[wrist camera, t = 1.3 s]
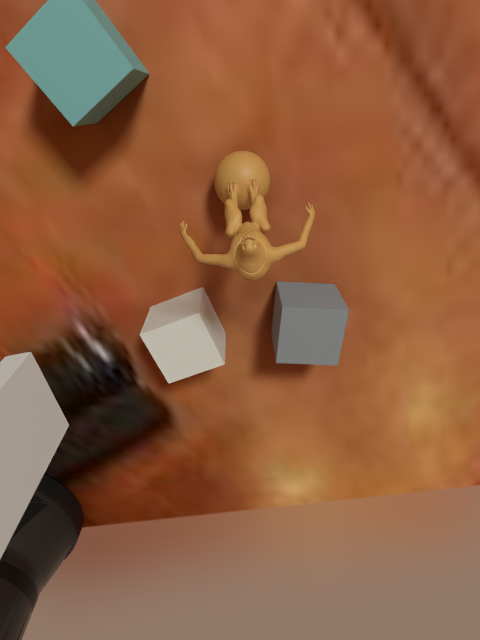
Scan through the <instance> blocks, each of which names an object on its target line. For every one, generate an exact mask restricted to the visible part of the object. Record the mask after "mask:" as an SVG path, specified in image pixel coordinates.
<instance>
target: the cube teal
mask: <svg viewBox="0 0 480 640" xmlns="http://www.w3.org/2000/svg"><path fill="white" fill-rule="evenodd" d="M5 48H6V49H7V50H8V51H9V52H10V53H11V55H12V56H13V57H14V58H15V59H16V61H17V62H18V63H19V64H20V65H21V66H22V68H23V69H24V70H25V71H26V72H27V73H28V75H29V76H30V77H31V78H32V79H33V80H34V82H35V83H36V84H37V85H38V86H39V87H40V89H41V90H42V91H43V92H44V93H45V94H46V96H47V97H48V98H49V99H50V100H51V101H52V103H53V104H54V105H55V106H56V107H57V108H58V110H59V111H60V112H61V113H62V114H63V116H64V117H65V118H66V119H67V120H68V121H69V123H70V124H71V125H72V126H73V127H74V126H81V125H88V124H95V123H98V122H99V121H100V120H101V119H102V118H103V117H104V116H105V115H106V114H107V113H108V112H110V111H111V110H112V109H113V108H114V107H115V106H116V105H117V104H118V103H119V102H120V101H121V100H122V99H123V98H124V97H125V96H126V95H128V94H129V93H130V92H131V91H132V90H133V89H134V88H135V87H136V86H137V85H138V84H139V83H140V82H141V81H142V80H143V79H145V78H146V77H147V76H148V75H149V73H148V71H147V70H146V69H145V67H144V66H143V64H142V63H141V62H140V60H139V59H138V58H137V56H136V55H135V54H134V52H133V51H132V49H131V48H130V47H129V45H128V44H127V43H126V41H125V40H124V39H123V37H122V36H121V34H120V33H119V32H118V30H117V29H116V28H115V26H114V25H113V24H112V22H111V21H110V20H109V18H108V17H107V15H106V14H105V13H104V11H103V10H102V9H101V7H100V6H99V5H98V3H97V2H96V0H48V1H47V2H46V3H45V4H44V5H43V6H42V7H41V9H40V10H39V11H38V12H37V13H36V14H35V15H34V16H33V17H32V19H31V20H30V21H29V22H28V23H27V24H26V25H25V26H24V27H23V29H22V30H21V31H20V32H19V33H18V34H17V35H16V36H15V37H14V39H13V40H12V41H11V42H10V43H9V44H8V45H7V46H6V47H5Z"/></svg>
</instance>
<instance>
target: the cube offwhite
mask: <svg viewBox="0 0 480 640" xmlns="http://www.w3.org/2000/svg"><path fill="white" fill-rule="evenodd" d="M140 337H141V338H142V340H143V342H144V343H145V345H146V347H147V348H148V350H149V352H150V353H151V355H152V357H153V358H154V360H155V362H156V363H157V365H158V367H159V368H160V370H161V372H162V373H163V375H164V377H165V378H166V380H167V382H168V384H169V383H172V382H175V381H178V380H181V379H184V378H187V377H190V376H193V375H195V374H198V373H201V372H204V371H207V370H210V369H213V368H216V367H219V366H222V365H224V364H225V344H226V333H225V331H224V329H223V327H222V325H221V323H220V321H219V319H218V317H217V315H216V312H215V310H214V308H213V306H212V304H211V302H210V300H209V298H208V296H207V294H206V292H205V290H204V288H203V287H201V288H199V289H196V290H193V291H191V292H188V293H185V294H183V295H180V296H178V297H175V298H172V299H170V300H167V301H164V302H162V303H159V304H157V305H154V306H151V307H150V310H149V312H148V315H147V317H146V320H145V322H144V325H143V327H142V330H141V332H140Z"/></svg>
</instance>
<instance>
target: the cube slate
mask: <svg viewBox="0 0 480 640" xmlns="http://www.w3.org/2000/svg"><path fill="white" fill-rule="evenodd" d="M348 312H349V309H348V307H347V306H346V304H345V302H344V300H343V298H342V297H341V295H340V293H339V291H338V289H337V287H336V286H335V284H319V283H298V282H276V291H275V300H274V310H273V319H272V329H271V335H272V341H273V347H274V354H275V360H276V363H289V364H314V365H338V362H339V357H340V352H341V347H342V342H343V337H344V332H345V327H346V322H347V317H348Z"/></svg>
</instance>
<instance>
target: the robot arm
mask: <svg viewBox="0 0 480 640" xmlns="http://www.w3.org/2000/svg"><path fill="white" fill-rule="evenodd" d="M68 426H69V424H68V422H67V420H66V418H65V416H64V415H63V413H62V411H61V409H60V407H59V405H58V403H57V401H56V399H55V397H54V395H53V393H52V391H51V390H50V388H49V386H48V384H47V382H46V380H45V378H44V376H43V374H42V372H41V370H40V368H39V366H38V365H37V363H36V361H35V359H34V357H33V355H32V353H31V352H27V353H22V354H17V355H11V356H6V357H5V358H4V359H3V360H2V361H1V362H0V640H22V637H23V635H24V632H25V630H26V627H27V624H28V622H29V619H30V617H31V614H32V611H33V609H34V607H35V604H36V602H37V599H38V596H39V594H40V593H41V591H42V590H43V588H44V587H45V585H46V584H47V583H48V581H49V580H50V578H51V577H52V576H53V574H54V573H55V571H56V570H57V569H58V567H59V566H60V564H61V563H62V561H63V560H64V559H65V558H67V556H68V555H69V554H70V552H71V551H72V550H73V548H74V547H75V545H76V542H77V540H78V537H79V534H80V531H81V529H82V526H83V512H82V508H81V506H80V504H79V502H78V501H77V499H76V498H75V496H74V495H73V494H72V493H71V492H70V491H69V490H68V489H67V488H66V487H64V486H63V485H62V484H60V483H59V482H57V481H56V480H54V479H52V478H50V477H49V476H46V475H44V473H45V471H46V469H47V467H48V465H49V463H50V461H51V459H52V457H53V455H54V454H55V452H56V450H57V448H58V446H59V444H60V442H61V440H62V438H63V436H64V434H65V432H66V430H67V428H68Z"/></svg>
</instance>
